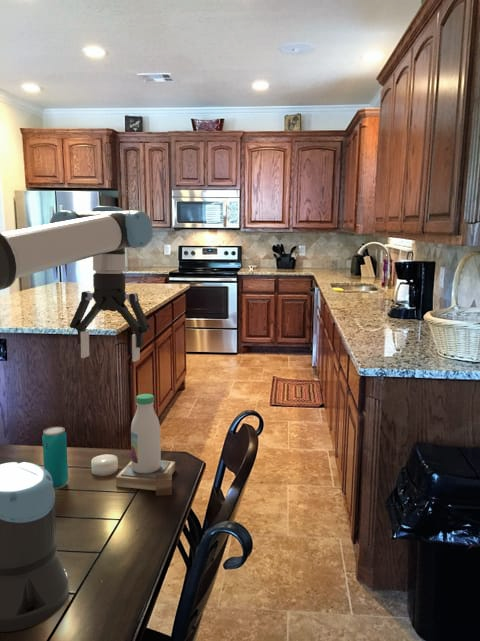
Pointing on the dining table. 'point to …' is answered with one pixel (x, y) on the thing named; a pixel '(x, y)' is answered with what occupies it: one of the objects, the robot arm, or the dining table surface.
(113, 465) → the white rounded block
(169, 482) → the tan wooden block
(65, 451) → the beverage can
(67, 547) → the dining table surface
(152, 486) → the wooden picture frame
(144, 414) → the milk bottle
